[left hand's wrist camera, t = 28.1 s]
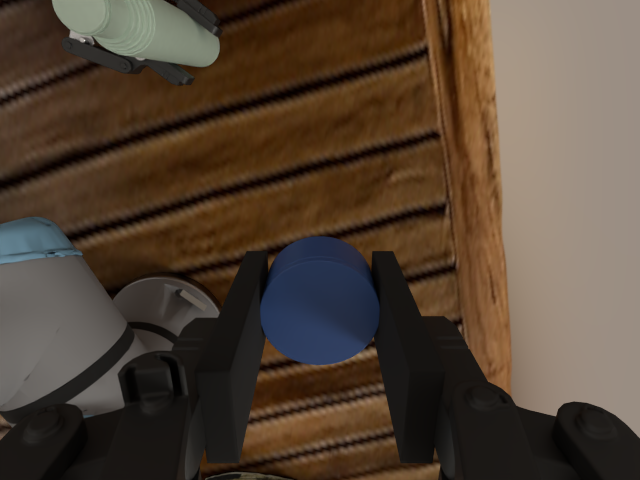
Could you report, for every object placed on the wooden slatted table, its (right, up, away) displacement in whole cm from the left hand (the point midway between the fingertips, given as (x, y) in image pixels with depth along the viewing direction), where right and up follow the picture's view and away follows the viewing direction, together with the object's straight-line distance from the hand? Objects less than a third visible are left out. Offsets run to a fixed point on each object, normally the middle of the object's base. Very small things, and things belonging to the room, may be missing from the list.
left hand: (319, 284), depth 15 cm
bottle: (-13, +22, +26) cm, 37 cm away
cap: (0, -1, -2) cm, 2 cm away
